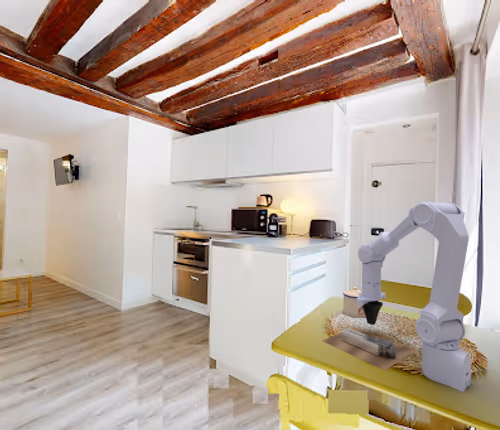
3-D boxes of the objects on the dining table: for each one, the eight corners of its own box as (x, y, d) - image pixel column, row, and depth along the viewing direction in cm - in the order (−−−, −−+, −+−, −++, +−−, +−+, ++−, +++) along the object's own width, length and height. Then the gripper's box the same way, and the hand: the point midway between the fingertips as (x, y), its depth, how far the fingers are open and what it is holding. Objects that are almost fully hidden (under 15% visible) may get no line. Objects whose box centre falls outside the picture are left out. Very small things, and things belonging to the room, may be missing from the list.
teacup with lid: (362, 321, 104) (362, 291, 104) (339, 315, 110) (339, 287, 110) (371, 313, 113) (371, 285, 113) (349, 308, 119) (350, 281, 119)
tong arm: (397, 356, 75) (397, 345, 75) (392, 359, 73) (393, 348, 73) (348, 336, 87) (349, 327, 87) (344, 338, 86) (344, 329, 86)
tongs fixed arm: (393, 356, 75) (393, 341, 75) (387, 359, 73) (387, 344, 73) (347, 337, 87) (347, 324, 87) (341, 339, 85) (341, 326, 85)
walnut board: (415, 353, 79) (416, 350, 79) (384, 374, 68) (384, 370, 68) (354, 330, 95) (354, 327, 95) (321, 343, 85) (321, 340, 85)
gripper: (371, 277, 96) (371, 315, 95) (347, 282, 87) (347, 324, 87) (391, 281, 90) (391, 321, 90) (368, 287, 81) (368, 332, 81)
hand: (371, 323), depth 88 cm, fingers closed
